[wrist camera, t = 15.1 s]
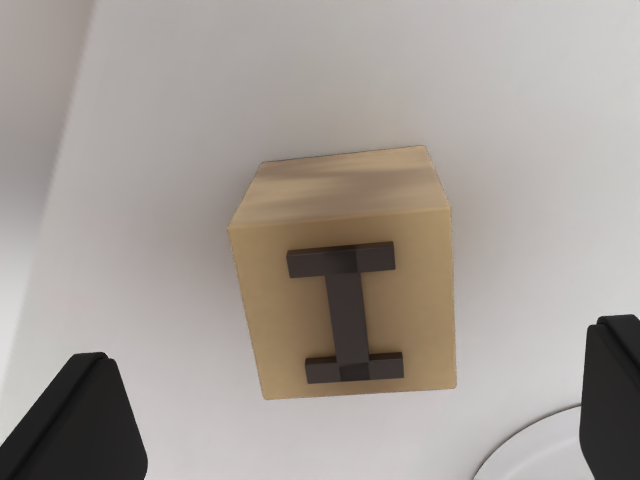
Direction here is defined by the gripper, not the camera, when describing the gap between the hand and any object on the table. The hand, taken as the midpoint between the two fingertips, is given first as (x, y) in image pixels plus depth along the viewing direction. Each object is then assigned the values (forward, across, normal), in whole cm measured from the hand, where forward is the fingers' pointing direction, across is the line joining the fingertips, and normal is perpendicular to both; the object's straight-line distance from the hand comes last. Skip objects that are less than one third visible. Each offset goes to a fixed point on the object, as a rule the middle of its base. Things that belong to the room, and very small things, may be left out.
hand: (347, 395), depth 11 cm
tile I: (+7, 0, 0) cm, 8 cm away
